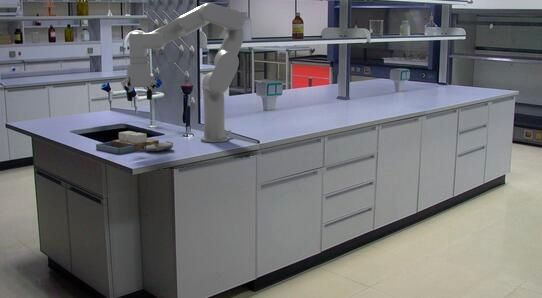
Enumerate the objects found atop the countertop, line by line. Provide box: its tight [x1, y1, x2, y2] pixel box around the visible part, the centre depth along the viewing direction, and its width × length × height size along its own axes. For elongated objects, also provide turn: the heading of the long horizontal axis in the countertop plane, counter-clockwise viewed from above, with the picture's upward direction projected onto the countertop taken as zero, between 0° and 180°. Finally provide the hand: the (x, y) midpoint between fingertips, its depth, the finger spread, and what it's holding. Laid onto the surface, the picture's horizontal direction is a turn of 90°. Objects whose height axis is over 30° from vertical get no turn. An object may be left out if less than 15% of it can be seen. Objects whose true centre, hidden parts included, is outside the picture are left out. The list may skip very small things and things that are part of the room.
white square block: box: [128, 132, 148, 143], centre depth 259 cm, size 6×6×4 cm
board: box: [111, 138, 160, 152], centre depth 263 cm, size 14×15×3 cm
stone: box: [144, 140, 174, 152], centre depth 254 cm, size 12×9×3 cm
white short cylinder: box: [118, 130, 137, 142], centre depth 263 cm, size 6×6×4 cm
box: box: [95, 141, 135, 155], centre depth 254 cm, size 8×16×2 cm, turn 51°
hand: (139, 100), depth 261 cm, fingers open, 9 cm apart
